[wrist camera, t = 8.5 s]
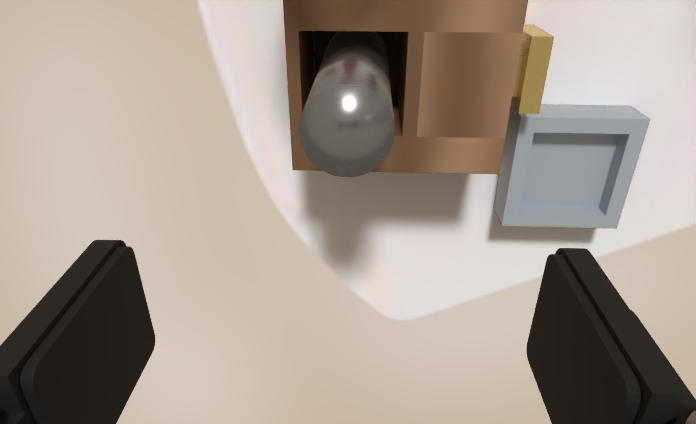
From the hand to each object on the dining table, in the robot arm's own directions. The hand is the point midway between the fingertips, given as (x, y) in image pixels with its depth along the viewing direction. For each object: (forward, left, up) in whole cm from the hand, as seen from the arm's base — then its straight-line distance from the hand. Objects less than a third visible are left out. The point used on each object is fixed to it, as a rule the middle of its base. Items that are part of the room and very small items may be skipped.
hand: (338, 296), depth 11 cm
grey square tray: (-14, +7, -25) cm, 29 cm away
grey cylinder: (0, 0, -25) cm, 25 cm away
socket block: (-2, 0, -25) cm, 25 cm away
